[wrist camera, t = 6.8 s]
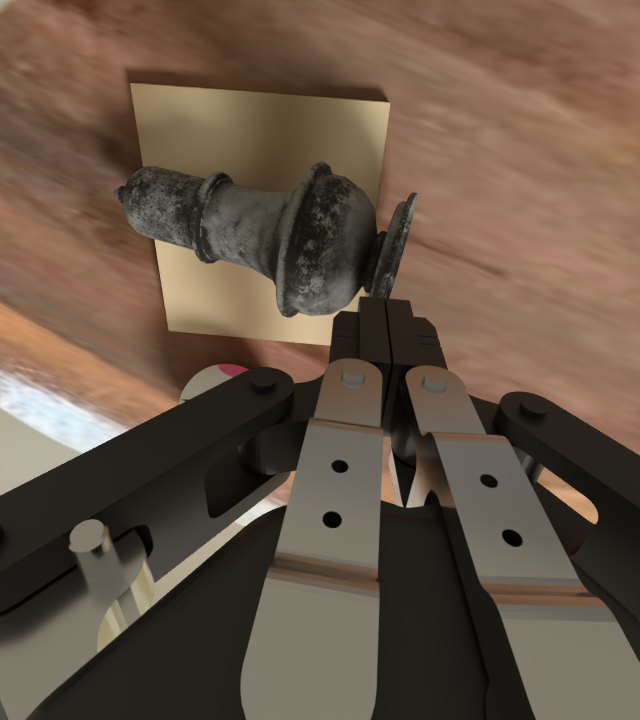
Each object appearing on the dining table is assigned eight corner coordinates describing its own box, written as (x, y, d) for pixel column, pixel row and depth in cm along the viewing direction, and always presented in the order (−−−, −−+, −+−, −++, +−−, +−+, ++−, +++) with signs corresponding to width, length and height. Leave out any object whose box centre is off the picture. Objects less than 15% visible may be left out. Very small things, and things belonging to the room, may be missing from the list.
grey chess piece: (417, 204, 18) (166, 143, 20) (422, 161, 13) (71, 81, 14) (377, 336, 19) (143, 267, 21) (365, 352, 14) (46, 255, 16)
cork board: (389, 102, 17) (390, 103, 16) (357, 341, 23) (358, 348, 22) (136, 82, 17) (129, 83, 17) (172, 325, 23) (168, 330, 23)
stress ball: (213, 320, 27) (115, 374, 23) (310, 348, 22) (208, 422, 18) (242, 416, 31) (163, 476, 26) (330, 457, 26) (250, 539, 22)
